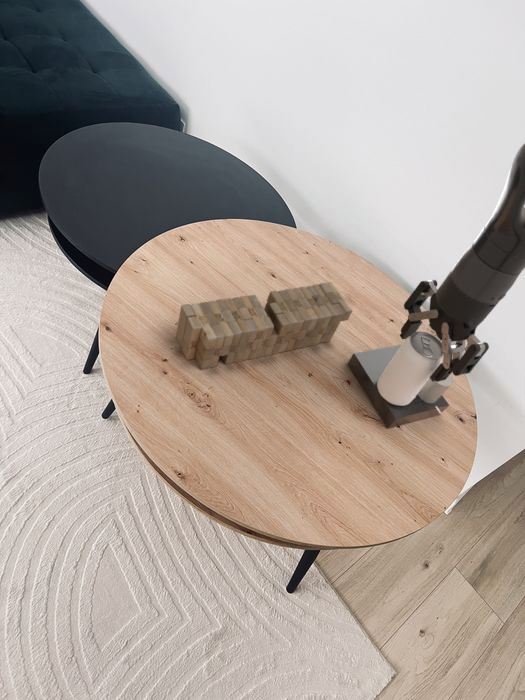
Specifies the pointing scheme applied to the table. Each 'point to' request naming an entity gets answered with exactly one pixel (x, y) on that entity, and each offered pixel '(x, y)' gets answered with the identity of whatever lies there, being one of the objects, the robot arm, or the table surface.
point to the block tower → (260, 324)
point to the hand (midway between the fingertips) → (419, 357)
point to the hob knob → (434, 390)
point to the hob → (368, 373)
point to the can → (410, 368)
